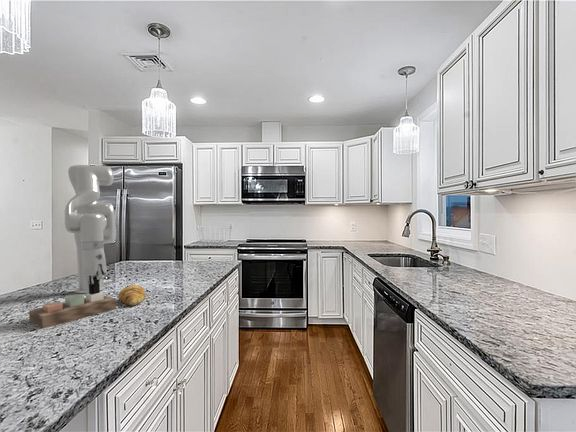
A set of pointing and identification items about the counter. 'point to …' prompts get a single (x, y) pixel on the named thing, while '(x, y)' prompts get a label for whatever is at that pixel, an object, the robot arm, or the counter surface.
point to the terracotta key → (52, 307)
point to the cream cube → (94, 297)
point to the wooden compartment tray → (71, 312)
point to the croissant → (132, 295)
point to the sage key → (74, 300)
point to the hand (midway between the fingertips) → (94, 293)
